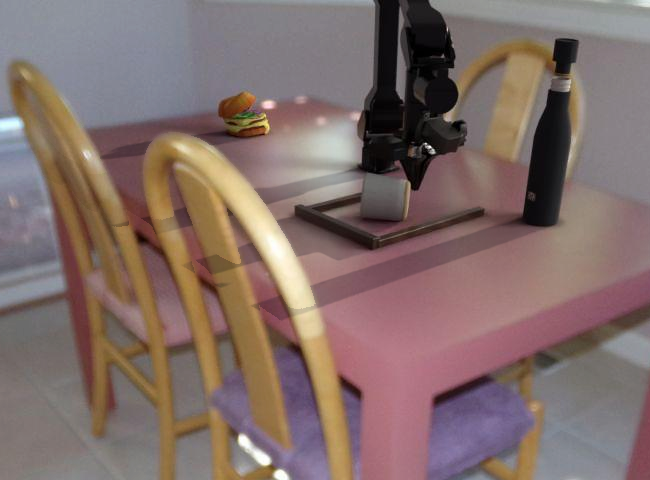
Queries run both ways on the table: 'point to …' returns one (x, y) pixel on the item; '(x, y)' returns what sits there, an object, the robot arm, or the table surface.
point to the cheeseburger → (242, 116)
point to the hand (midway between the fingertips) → (414, 190)
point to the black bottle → (551, 143)
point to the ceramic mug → (384, 197)
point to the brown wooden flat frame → (368, 239)
